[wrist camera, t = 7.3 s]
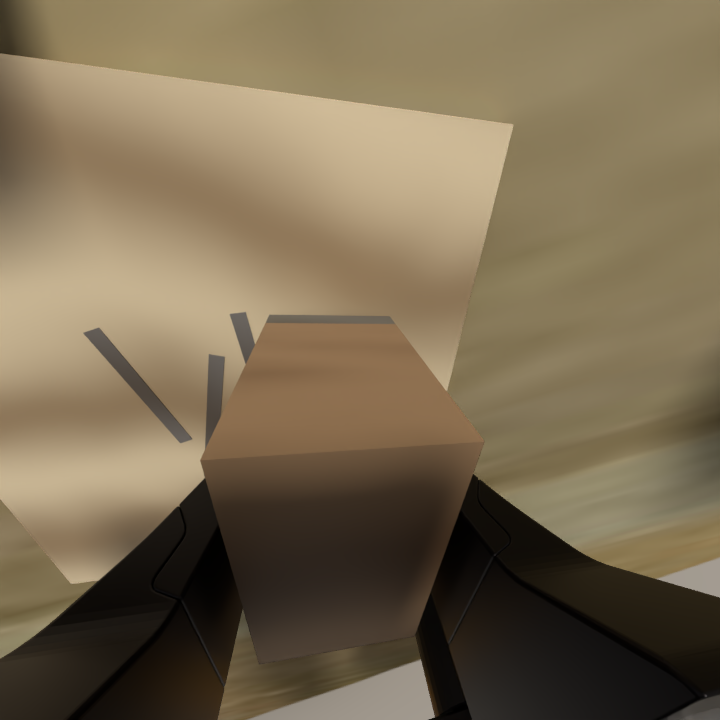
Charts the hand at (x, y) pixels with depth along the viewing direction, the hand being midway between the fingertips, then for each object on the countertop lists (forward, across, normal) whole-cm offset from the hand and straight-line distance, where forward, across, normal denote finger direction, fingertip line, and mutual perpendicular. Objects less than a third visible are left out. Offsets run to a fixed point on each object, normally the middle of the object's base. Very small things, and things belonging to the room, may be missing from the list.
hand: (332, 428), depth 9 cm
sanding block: (+2, 0, 0) cm, 2 cm away
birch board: (+3, +4, +1) cm, 5 cm away
